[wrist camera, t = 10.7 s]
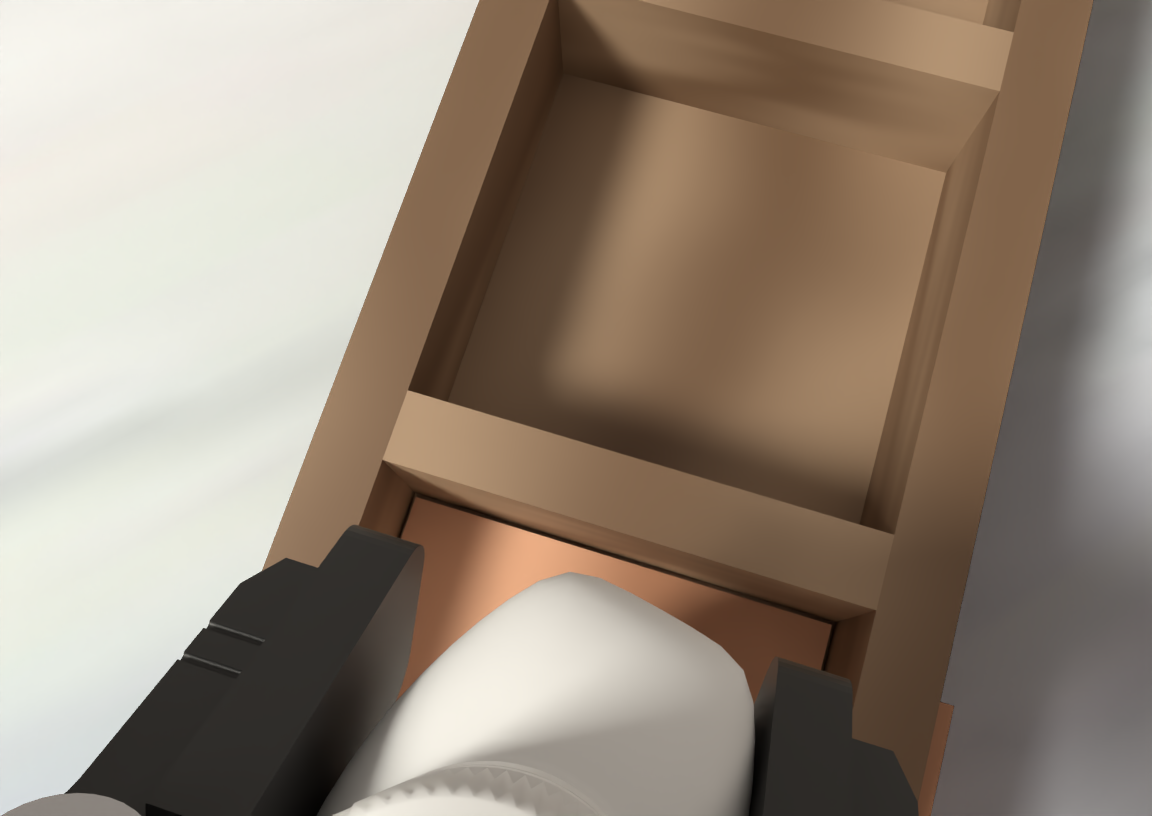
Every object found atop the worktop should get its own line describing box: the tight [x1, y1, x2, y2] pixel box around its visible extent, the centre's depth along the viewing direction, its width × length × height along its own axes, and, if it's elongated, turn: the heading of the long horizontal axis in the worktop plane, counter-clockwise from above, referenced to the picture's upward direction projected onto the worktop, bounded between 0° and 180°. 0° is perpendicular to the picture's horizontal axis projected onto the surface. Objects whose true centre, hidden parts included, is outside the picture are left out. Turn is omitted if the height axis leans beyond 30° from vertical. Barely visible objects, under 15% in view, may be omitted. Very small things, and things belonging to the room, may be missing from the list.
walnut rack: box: [262, 0, 1094, 816], centre depth 20 cm, size 11×29×4 cm, turn 163°
